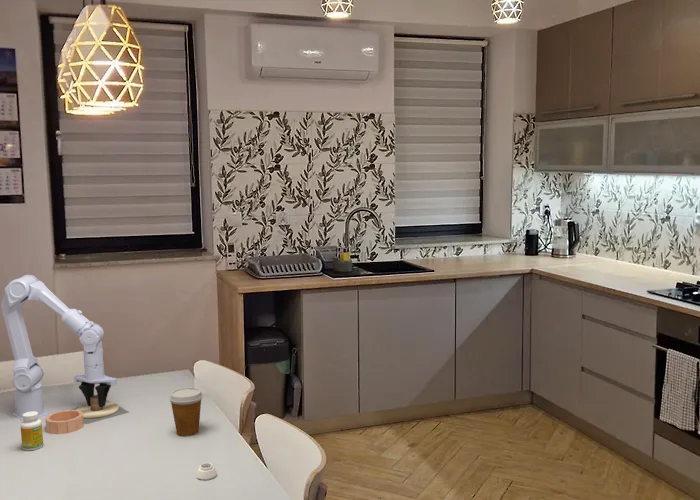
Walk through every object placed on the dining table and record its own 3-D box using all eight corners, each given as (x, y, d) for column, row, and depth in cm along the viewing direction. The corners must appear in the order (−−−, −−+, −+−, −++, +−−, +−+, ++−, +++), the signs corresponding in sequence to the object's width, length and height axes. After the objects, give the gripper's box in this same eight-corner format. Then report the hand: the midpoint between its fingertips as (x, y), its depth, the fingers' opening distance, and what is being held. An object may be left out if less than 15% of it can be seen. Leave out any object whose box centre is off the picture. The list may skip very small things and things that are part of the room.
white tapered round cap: (196, 482, 176) (217, 479, 177) (195, 470, 176) (216, 468, 177) (196, 473, 181) (216, 471, 182) (195, 462, 180) (215, 460, 181)
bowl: (41, 429, 212) (40, 416, 212) (75, 419, 219) (74, 407, 219) (55, 438, 205) (54, 424, 205) (89, 428, 212) (88, 415, 212)
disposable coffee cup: (211, 431, 208) (209, 391, 207) (183, 441, 201) (181, 400, 200) (192, 423, 215) (190, 385, 213) (164, 432, 208) (162, 393, 206)
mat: (64, 412, 226) (64, 411, 226) (107, 401, 236) (107, 400, 236) (86, 425, 215) (86, 423, 215) (129, 413, 224) (129, 411, 224)
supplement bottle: (35, 451, 196) (32, 417, 195) (18, 450, 197) (15, 416, 196) (47, 444, 201) (44, 410, 200) (30, 442, 202) (27, 409, 201)
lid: (68, 411, 225) (67, 397, 225) (107, 401, 234) (106, 387, 234) (85, 422, 216) (84, 407, 215) (126, 411, 225) (125, 396, 224)
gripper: (121, 361, 225) (124, 403, 227) (82, 358, 229) (85, 399, 231) (108, 368, 218) (110, 410, 220) (67, 365, 222) (70, 407, 224)
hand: (96, 405), depth 225 cm, fingers closed on lid, 4 cm apart
